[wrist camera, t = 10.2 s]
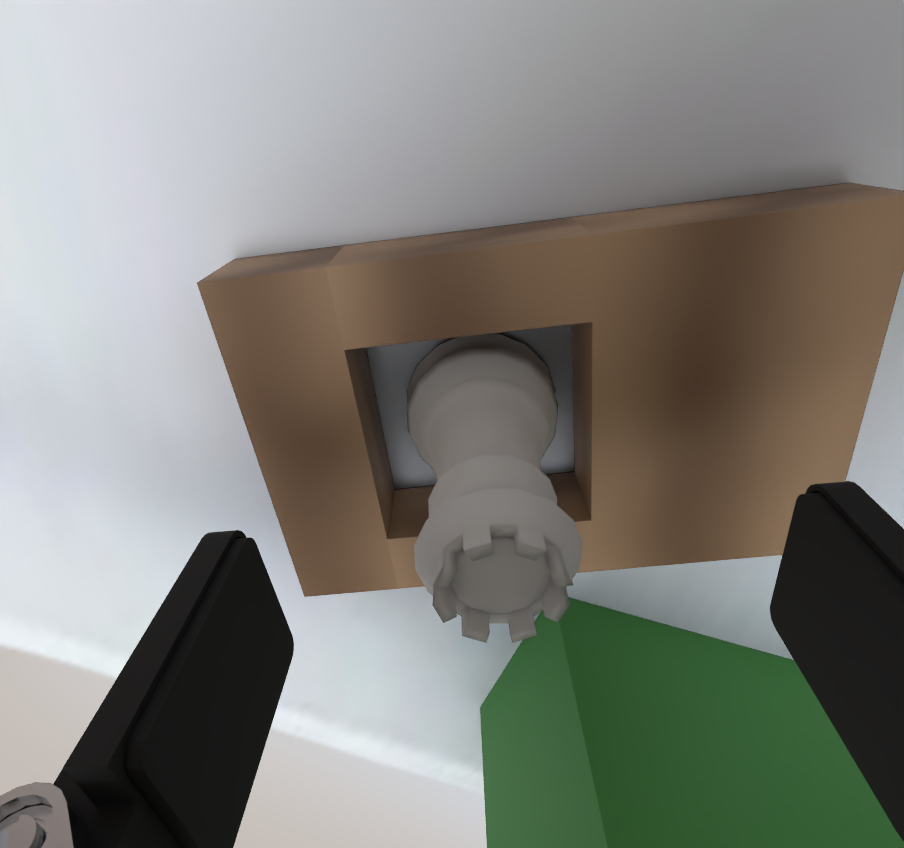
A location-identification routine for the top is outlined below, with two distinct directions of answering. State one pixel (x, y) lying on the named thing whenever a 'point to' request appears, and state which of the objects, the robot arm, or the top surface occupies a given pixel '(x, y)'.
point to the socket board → (579, 369)
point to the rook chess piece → (490, 487)
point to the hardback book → (664, 745)
